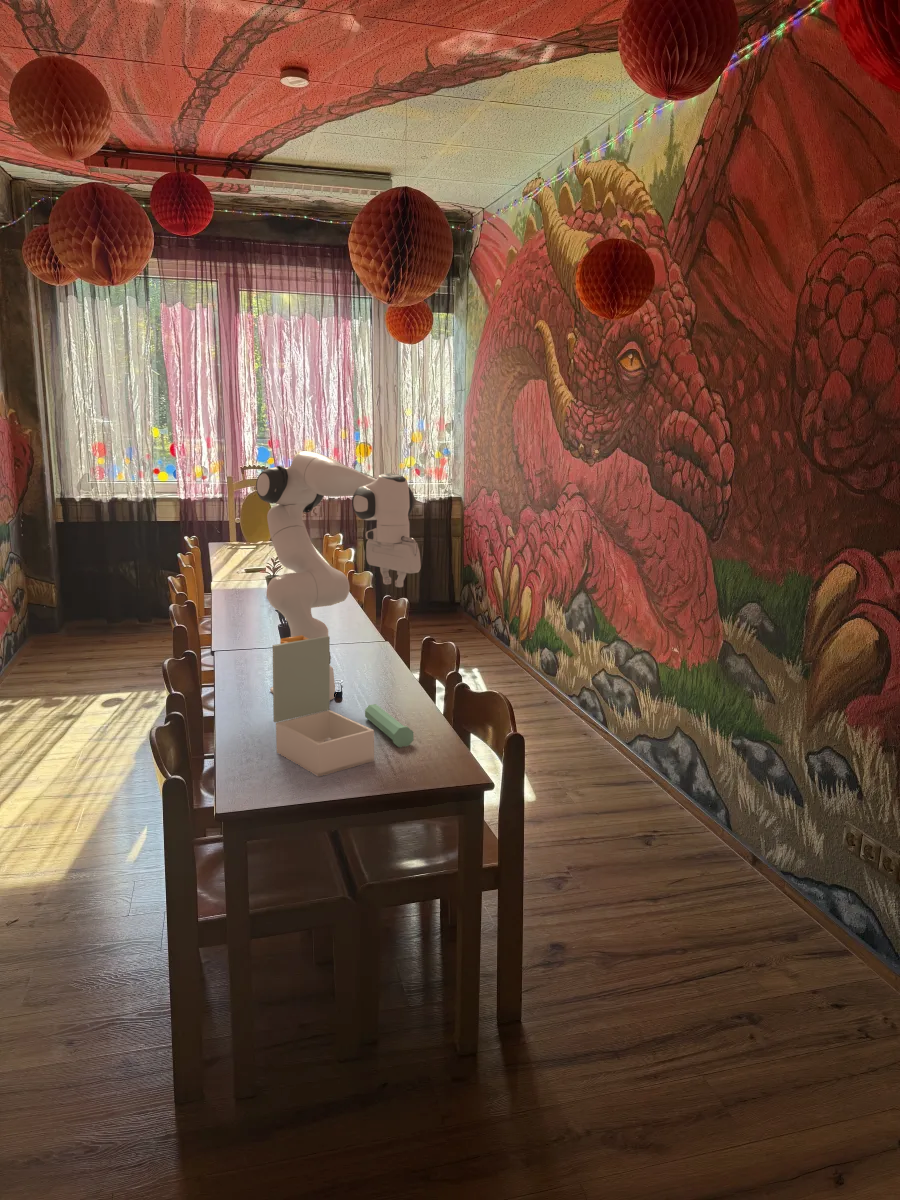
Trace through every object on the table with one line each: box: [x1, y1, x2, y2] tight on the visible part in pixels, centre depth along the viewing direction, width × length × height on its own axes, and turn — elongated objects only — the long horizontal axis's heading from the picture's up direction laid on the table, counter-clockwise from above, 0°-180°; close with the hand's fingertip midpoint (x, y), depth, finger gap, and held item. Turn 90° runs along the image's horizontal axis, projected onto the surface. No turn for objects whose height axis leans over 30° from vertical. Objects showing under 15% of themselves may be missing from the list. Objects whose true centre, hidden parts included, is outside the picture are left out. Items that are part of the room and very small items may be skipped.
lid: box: [272, 635, 331, 723], centre depth 222 cm, size 20×16×6 cm
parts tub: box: [275, 709, 375, 778], centre depth 215 cm, size 20×16×8 cm
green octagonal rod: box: [364, 703, 414, 748], centre depth 234 cm, size 6×6×25 cm
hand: (393, 585), depth 235 cm, fingers open, 4 cm apart
